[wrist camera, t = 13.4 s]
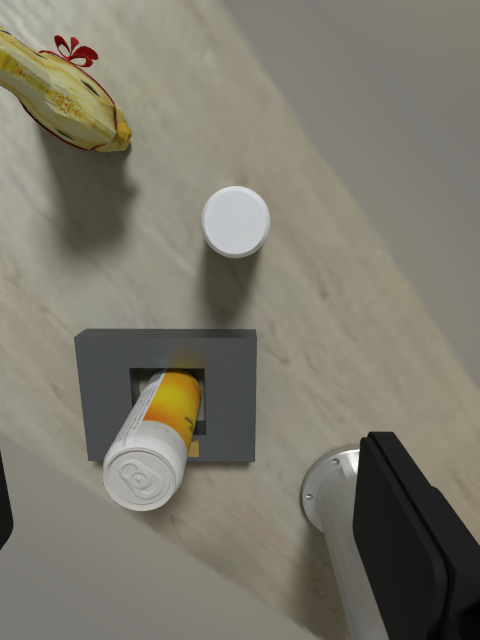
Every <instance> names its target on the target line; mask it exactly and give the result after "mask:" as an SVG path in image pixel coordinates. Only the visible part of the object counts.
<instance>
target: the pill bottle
mask: <svg viewBox="0 0 480 640" xmlns="http://www.w3.org/2000/svg"><path fill="white" fill-rule="evenodd" d="M201 228H202V233H203V236H204V238H205V240H206V242H207V243H208V245H209V246H210V247H211V248H212V249H213V250H214V251H216V252H217V253H219V254H221V255H223V256H225V257H229V258H242V257H246V256H249V255H251V254H253V253H255V252H256V251H257V250H258V249H260V248H261V246H262V245H263V244H264V243H265V241H266V239H267V237H268V234H269V231H270V213H269V210H268V208H267V206H266V204H265V202H264V201H263V199H262V198H261V197H260V196H259V195H258V194H257V193H255V192H254V191H252V190H250V189H248V188H245V187H240V186H231V187H226V188H223V189H221V190H219V191H217V192H216V193H215V194H213V195H212V196H211V197H210V198H209V200H208V201H207V203H206V204H205V206H204V209H203V211H202V216H201Z"/></svg>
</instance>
